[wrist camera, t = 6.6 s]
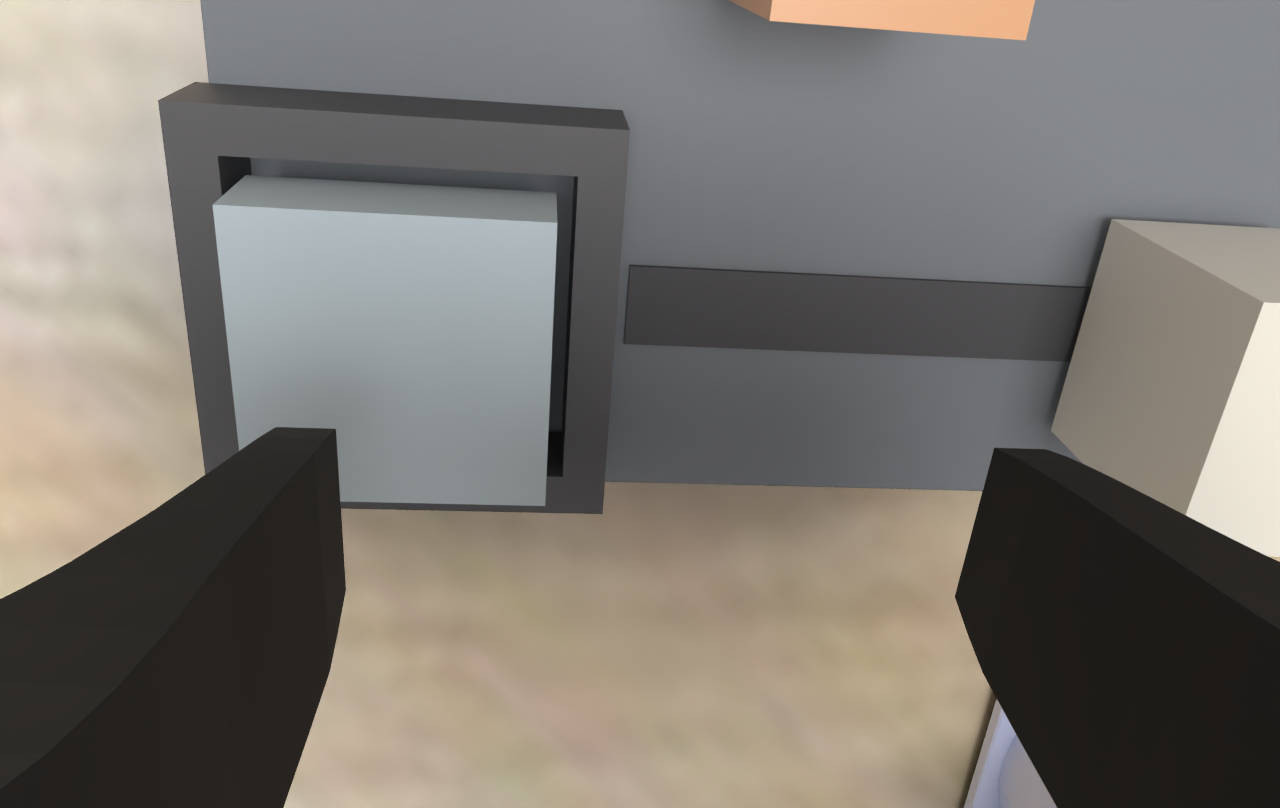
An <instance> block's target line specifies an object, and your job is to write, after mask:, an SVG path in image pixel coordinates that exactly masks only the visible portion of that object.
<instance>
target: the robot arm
mask: <svg viewBox="0 0 1280 808" xmlns="http://www.w3.org/2000/svg"><path fill="white" fill-rule="evenodd" d="M345 591H346V587H345V570H344V554H343V537H342V520H341V504H340V487H339V471H338V454H337V438H336V429H327V428H293V427H275V428H273V429H272V430H270V431H268V432H267V433H265V434H263V435H262V436H260V437H259V438H257V439H256V440H254V441H253V442H251V443H250V444H249V445H247V446H246V447H244V448H243V449H241V450H240V451H239V452H237V453H236V454H234V455H233V456H231V457H230V458H229V459H227V460H226V461H224V462H223V463H222V464H220V465H219V466H217V467H216V468H215V469H213V470H212V471H210V472H209V473H208V474H206V475H205V476H203V477H202V478H200V479H199V480H197V481H196V482H194V483H193V484H192V485H190V486H189V487H187V488H186V489H184V490H183V491H181V492H180V493H178V494H177V495H176V496H174V497H173V498H171V499H170V500H168V501H167V502H165V503H164V504H163V505H161V506H160V507H158V508H157V509H155V510H154V511H152V512H151V513H149V514H147V515H146V516H144V517H142V518H141V519H139V520H138V521H136V522H134V523H133V524H131V525H130V526H128V527H126V528H125V529H123V530H121V531H120V532H118V533H117V534H115V535H113V536H112V537H110V538H108V539H107V540H105V541H104V542H102V543H100V544H99V545H97V546H96V547H94V548H92V549H91V550H89V551H87V552H86V553H84V554H83V555H81V556H79V557H78V558H76V559H74V560H73V561H71V562H69V563H68V564H66V565H64V566H62V567H60V568H59V569H57V570H55V571H53V572H52V573H50V574H48V575H46V576H44V577H42V578H40V579H39V580H37V581H35V582H33V583H31V584H29V585H27V586H26V587H24V588H22V589H20V590H18V591H16V592H14V593H12V594H10V595H8V596H6V597H4V598H2V599H0V808H283V807H284V804H285V801H286V798H287V795H288V792H289V790H290V787H291V784H292V781H293V778H294V775H295V772H296V769H297V766H298V763H299V761H300V758H301V755H302V752H303V749H304V746H305V743H306V740H307V737H308V734H309V731H310V729H311V726H312V723H313V720H314V717H315V714H316V711H317V708H318V705H319V702H320V699H321V696H322V693H323V690H324V687H325V684H326V681H327V678H328V675H329V672H330V667H331V663H332V658H333V653H334V648H335V643H336V638H337V633H338V628H339V623H340V617H341V612H342V607H343V601H344V596H345ZM955 598H956V601H957V604H958V607H959V610H960V613H961V615H962V618H963V621H964V624H965V627H966V630H967V633H968V636H969V639H970V641H971V644H972V646H973V649H974V651H975V654H976V656H977V659H978V661H979V664H980V666H981V669H982V671H983V674H984V676H985V677H986V679H987V681H988V683H989V685H990V687H991V689H992V691H993V693H994V695H995V696H996V698H997V699H996V702H995V705H994V709H993V712H992V715H991V719H990V722H989V725H988V729H987V732H986V735H985V739H984V742H983V745H982V749H981V752H980V755H979V759H978V762H977V765H976V769H975V772H974V775H973V779H972V782H971V785H970V789H969V792H968V795H967V799H966V802H965V805H964V808H1280V562H1278V561H1276V560H1274V559H1272V558H1270V557H1268V556H1266V555H1264V554H1262V553H1260V552H1258V551H1256V550H1253V549H1251V548H1249V547H1247V546H1245V545H1243V544H1241V543H1239V542H1237V541H1235V540H1233V539H1231V538H1229V537H1227V536H1225V535H1223V534H1221V533H1219V532H1217V531H1215V530H1213V529H1211V528H1209V527H1207V526H1205V525H1204V524H1202V523H1200V522H1198V521H1196V520H1194V519H1192V518H1190V517H1188V516H1186V515H1184V514H1182V513H1180V512H1178V511H1176V510H1174V509H1172V508H1171V507H1169V506H1167V505H1165V504H1163V503H1161V502H1159V501H1157V500H1155V499H1153V498H1151V497H1149V496H1147V495H1145V494H1143V493H1141V492H1139V491H1137V490H1136V489H1134V488H1132V487H1130V486H1128V485H1126V484H1124V483H1122V482H1120V481H1118V480H1116V479H1114V478H1112V477H1110V476H1108V475H1106V474H1104V473H1102V472H1099V471H1097V470H1095V469H1093V468H1091V467H1089V466H1087V465H1085V464H1082V463H1080V462H1078V461H1076V460H1073V459H1071V458H1069V457H1066V456H1064V455H1061V454H1058V453H1055V452H1053V451H1050V450H1047V449H1021V448H994V450H993V454H992V458H991V462H990V466H989V469H988V473H987V477H986V481H985V485H984V488H983V492H982V496H981V500H980V504H979V507H978V511H977V515H976V519H975V523H974V526H973V530H972V534H971V538H970V542H969V545H968V549H967V553H966V557H965V560H964V564H963V568H962V572H961V576H960V579H959V583H958V587H957V591H956V595H955Z"/></svg>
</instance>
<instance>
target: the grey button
mask: <svg viewBox="0 0 1280 808" xmlns="http://www.w3.org/2000/svg"><path fill="white" fill-rule="evenodd" d="M213 214H214V223H215V233H216V242H217V251H218V260H219V269H220V279H221V288H222V297H223V306H224V316H225V325H226V334H227V343H228V353H229V362H230V371H231V380H232V389H233V399H234V408H235V417H236V426H237V436H238V445H239V451H240V450H241V449H243V448H244V447H246V446H247V445H249V444H250V443H251V442H253V441H254V440H256V439H257V438H259V437H260V436H262V435H263V434H265V433H267V432H268V431H270V430H272V429H273V428H275V427H293V428H327V429H336V438H337V454H338V471H339V487H340V502H385V503H430V504H476V505H521V506H545V499H546V476H547V453H548V430H549V407H550V384H551V360H552V337H553V314H554V291H555V268H556V245H557V197H556V192H539V191H521V190H503V189H485V188H467V187H449V186H432V185H414V184H396V183H378V182H360V181H342V180H325V179H307V178H289V177H271V176H253V175H245V176H244V177H243V178H242V179H241V180H240V181H239V182H237V183H236V184H235V185H234V186H233V187H232V188H231V189H230V190H228V191H227V192H226V193H225V194H224V195H223V196H222V197H221V198H219V199H218V200H217V201H216V202H215V203H214V204H213Z"/></svg>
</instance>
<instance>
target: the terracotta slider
mask: <svg viewBox="0 0 1280 808" xmlns="http://www.w3.org/2000/svg"><path fill="white" fill-rule="evenodd" d="M729 1H731V2H733V3H735V4H737V5H739V6H741V7H743V8H745V9H747V10H749V11H751V12H753V13H755V14H757V15H759V16H761V17H763V18H765V19H767V20H769V21H777V22H790V23H803V24H816V25H829V26H843V27H856V28H869V29H882V30H895V31H908V32H921V33H934V34H947V35H960V36H973V37H987V38H1000V39H1013V40H1026V38H1027V33H1028V29H1029V25H1030V21H1031V16H1032V12H1033V8H1034V3H1035V0H729Z"/></svg>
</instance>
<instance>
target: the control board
mask: <svg viewBox="0 0 1280 808" xmlns="http://www.w3.org/2000/svg"><path fill="white" fill-rule="evenodd" d="M201 10H202V20H203V29H204V39H205V48H206V58H207V68H208V77H209V83H200V82H194V83H192V84H190V85H188V86H186V87H184V88H182V89H180V90H178V91H176V92H174V93H172V94H170V95H168V96H166V97H164V98H162V99H160V100H158V103H159V111H160V118H161V126H162V134H163V142H164V150H165V158H166V166H167V174H168V182H169V190H170V198H171V206H172V213H173V221H174V229H175V237H176V245H177V253H178V261H179V269H180V277H181V285H182V293H183V301H184V308H185V316H186V324H187V332H188V340H189V348H190V356H191V364H192V372H193V380H194V388H195V396H196V403H197V411H198V419H199V427H200V435H201V443H202V451H203V459H204V467H205V475H206V474H208V473H209V472H210V471H212V470H213V469H215V468H216V467H217V466H219V465H220V464H222V463H223V462H224V461H226V460H227V459H229V458H230V457H231V456H233V455H234V454H236V453H237V452H239V445H238V436H237V426H236V417H235V408H234V399H233V389H232V380H231V371H230V362H229V353H228V343H227V334H226V325H225V316H224V306H223V297H222V288H221V279H220V269H219V260H218V251H217V242H216V233H215V223H214V214H213V204H214V203H215V202H216V201H217V200H218V199H219V198H221V197H222V196H223V195H224V194H225V193H226V192H227V191H228V190H230V189H231V188H232V187H233V186H234V185H235V184H236V183H237V182H239V181H240V180H241V179H242V178H243V177H244V176H245V175H253V176H271V177H289V178H307V179H325V180H342V181H360V182H378V183H396V184H414V185H432V186H449V187H467V188H485V189H503V190H521V191H539V192H556V197H557V245H556V268H555V291H554V314H553V337H552V360H551V384H550V407H549V430H548V453H547V476H546V499H545V506H521V505H476V504H430V503H385V502H340V504H341V508H351V509H397V510H444V511H491V512H537V513H584V514H602V511H603V497H604V484H605V481H610V482H650V483H690V484H730V485H770V486H810V487H850V488H890V489H930V490H970V491H983V488H984V485H985V481H986V477H987V473H988V469H989V466H990V462H991V458H992V454H993V450H994V448H1021V449H1047V450H1050V451H1053V452H1055V453H1058V454H1061V455H1064V456H1066V457H1069V458H1071V459H1073V460H1076V461H1078V462H1080V463H1082V462H1081V461H1080V460H1079V459H1078V458H1077V457H1076V456H1075V455H1074V454H1073V453H1072V452H1071V451H1070V450H1069V449H1068V448H1067V447H1066V446H1065V445H1064V444H1063V443H1062V442H1061V440H1060V439H1059V438H1058V437H1057V436H1056V435H1055V434H1054V433H1053V432H1052V431H1051V428H1052V425H1053V421H1054V418H1055V414H1056V411H1057V407H1058V404H1059V400H1060V397H1061V393H1062V390H1063V386H1064V383H1065V379H1066V376H1067V373H1068V369H1069V366H1070V362H1071V359H1072V355H1073V352H1074V348H1075V345H1076V341H1077V338H1078V334H1079V331H1080V327H1081V324H1082V320H1083V317H1084V313H1085V310H1086V306H1087V303H1088V300H1089V296H1090V293H1091V289H1092V286H1093V282H1094V279H1095V275H1096V272H1097V268H1098V265H1099V261H1100V258H1101V254H1102V251H1103V247H1104V244H1105V240H1106V237H1107V233H1108V230H1109V227H1110V223H1111V220H1112V219H1121V220H1139V221H1157V222H1174V223H1192V224H1210V225H1227V226H1245V227H1263V228H1278V229H1280V0H1035V3H1034V8H1033V12H1032V16H1031V21H1030V25H1029V29H1028V33H1027V38H1026V40H1013V39H1000V38H987V37H973V36H960V35H947V34H934V33H921V32H908V31H895V30H882V29H869V28H856V27H843V26H829V25H816V24H803V23H790V22H777V21H769V20H767V19H765V18H763V17H761V16H759V15H757V14H755V13H753V12H751V11H749V10H747V9H745V8H743V7H741V6H739V5H737V4H735V3H733V2H731V1H729V0H201ZM1082 464H1083V463H1082Z"/></svg>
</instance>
